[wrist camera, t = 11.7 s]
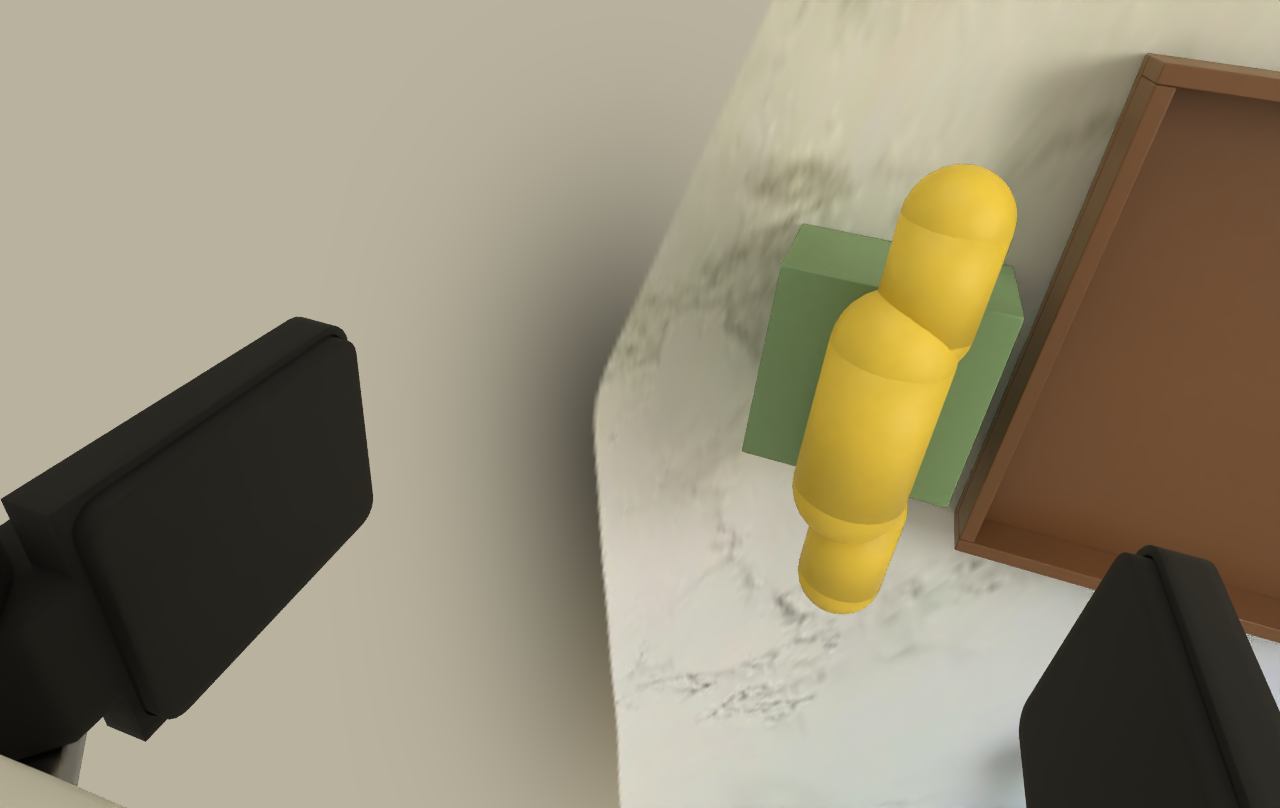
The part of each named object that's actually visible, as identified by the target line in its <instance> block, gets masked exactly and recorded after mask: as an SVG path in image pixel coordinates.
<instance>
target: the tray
mask: <svg viewBox="0 0 1280 808" xmlns="http://www.w3.org/2000/svg"><path fill="white" fill-rule="evenodd" d="M954 520H955V521H954V535H955V550H958V551H961V552H965V553H968V554H972V555H975V556H979V557H982V558H986V559H989V560H993V561H996V562H1000V563H1003V564H1007V565H1010V566H1014V567H1017V568H1021V569H1024V570H1028V571H1031V572H1035V573H1038V574H1042V575H1045V576H1048V577H1052V578H1055V579H1059V580H1062V581H1066V582H1069V583H1073V584H1076V585H1080V586H1083V587H1087V588H1090V589H1094V590H1096V589H1097V587H1098V586H1099V584H1100V582H1101V581H1102V579H1103V578H1104V576H1105V574H1106V573H1107V571H1108V570H1109V568H1110V566H1111V565H1112V563H1113V561H1114V560H1115V559H1116V558H1117V556H1118V555H1120V554H1121V553H1124V552H1128V553H1131V554H1136V553H1137V552H1138V550H1139V549H1141V548H1142V547H1144V546H1145V545H1154V546H1158V547H1161V548H1165V549H1169V550H1173V551H1176V552H1180V553H1184V554H1187V555H1191V556H1195V557H1199V558H1202V559H1206V560H1208V561H1210V562H1212V563H1213V564H1214V565H1215V567H1216V568H1217V570H1218V572H1219V574H1220V577H1221V579H1222V581H1223V583H1224V586H1225V588H1226V590H1227V593H1228V595H1229V597H1230V599H1231V602H1232V604H1233V606H1234V609H1235V611H1236V613H1237V615H1238V618H1239V620H1240V622H1241V625H1242V627H1243V629H1244V631H1245V633H1247V634H1251V635H1254V636H1257V637H1261V638H1264V639H1268V640H1271V641H1275V642H1278V643H1280V72H1278V71H1271V70H1264V69H1257V68H1250V67H1243V66H1236V65H1229V64H1222V63H1215V62H1208V61H1201V60H1194V59H1187V58H1180V57H1173V56H1166V55H1159V54H1152V53H1148V54H1146V55H1145V58H1144V60H1143V62H1142V65H1141V67H1140V70H1139V72H1138V74H1137V77H1136V79H1135V82H1134V84H1133V86H1132V89H1131V91H1130V94H1129V96H1128V98H1127V101H1126V103H1125V106H1124V108H1123V110H1122V113H1121V115H1120V118H1119V120H1118V122H1117V125H1116V127H1115V130H1114V132H1113V134H1112V137H1111V139H1110V141H1109V144H1108V146H1107V149H1106V151H1105V153H1104V156H1103V158H1102V161H1101V163H1100V165H1099V168H1098V170H1097V173H1096V175H1095V177H1094V180H1093V182H1092V185H1091V187H1090V189H1089V192H1088V194H1087V197H1086V199H1085V201H1084V204H1083V206H1082V209H1081V211H1080V213H1079V216H1078V218H1077V221H1076V223H1075V225H1074V228H1073V230H1072V232H1071V235H1070V237H1069V240H1068V242H1067V244H1066V247H1065V249H1064V252H1063V254H1062V256H1061V259H1060V261H1059V264H1058V266H1057V268H1056V271H1055V273H1054V276H1053V278H1052V280H1051V283H1050V285H1049V288H1048V290H1047V292H1046V295H1045V297H1044V300H1043V302H1042V304H1041V307H1040V309H1039V311H1038V314H1037V316H1036V319H1035V321H1034V323H1033V326H1032V328H1031V331H1030V333H1029V335H1028V338H1027V340H1026V343H1025V345H1024V347H1023V350H1022V352H1021V355H1020V357H1019V359H1018V362H1017V364H1016V367H1015V369H1014V371H1013V374H1012V376H1011V379H1010V381H1009V383H1008V386H1007V388H1006V390H1005V393H1004V395H1003V398H1002V400H1001V402H1000V405H999V407H998V410H997V412H996V414H995V417H994V419H993V422H992V424H991V426H990V429H989V431H988V434H987V436H986V438H985V441H984V443H983V446H982V448H981V450H980V453H979V455H978V458H977V460H976V462H975V465H974V467H973V469H972V472H971V474H970V477H969V479H968V481H967V484H966V486H965V489H964V491H963V493H962V496H961V498H960V501H959V503H958V505H957V508H956V510H955V513H954Z"/></svg>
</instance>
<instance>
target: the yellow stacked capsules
mask: <svg viewBox="0 0 1280 808" xmlns="http://www.w3.org/2000/svg"><path fill="white" fill-rule="evenodd" d="M1016 224H1017V208H1016V203H1015V199H1014V197H1013V195H1012V193H1011V190H1010V189H1009V187H1008V186H1007V185H1006V183H1005V182H1004V181H1003V180H1002V179H1001V178H1000V177H999V176H997V175H996V174H995V173H993V172H992V171H989V170H987V169H985V168H983V167H980V166H976V165H970V164H957V165H951V166H947V167H943V168H941V169H938V170H936V171H934V172H932V173H930V174H928V175H927V176H926V177H924V178H923V179H921V180H920V181H919V182H918V183H917V184H916V186H915V187H914V188H913V189H912V190H911V191H910V193H909V195H908V196H907V198H906V199H905V201H904V204H903V206H902V209H901V212H900V216H899V219H898V222H897V226H896V229H895V233H894V236H893V240H892V243H891V247H890V250H889V253H888V257H887V260H886V264H885V267H884V271H883V274H882V277H881V281H880V284H879V288H878V290H876V291H873V292H870V293H867V294H865V295H863V296H862V297H860V298H859V299H857V300H855V301H854V302H852V303H851V304H850V305H849V306H848V307H847V308H846V309H845V310H844V311H843V313H842V314H841V315H840V317H839V318H838V320H837V322H836V323H835V325H834V327H833V330H832V333H831V336H830V339H829V343H828V346H827V350H826V354H825V358H824V362H823V365H822V369H821V373H820V377H819V380H818V384H817V388H816V392H815V396H814V399H813V403H812V407H811V411H810V414H809V418H808V422H807V426H806V430H805V433H804V437H803V441H802V445H801V449H800V452H799V456H798V460H797V464H796V467H795V471H794V477H793V485H792V486H793V494H794V501H795V503H796V506H797V508H798V511H799V513H800V515H801V516H802V517H803V519H804V520H805V521H806V523H807V524H808V525H809V528H808V531H807V535H806V538H805V542H804V545H803V549H802V552H801V556H800V559H799V565H798V575H799V582H800V584H801V587H802V589H803V591H804V593H805V594H806V596H807V597H808V598H809V599H810V600H811V601H812V602H813V603H814V604H815V605H816V606H817V607H819V608H821V609H822V610H825V611H827V612H830V613H834V614H850V613H855V612H857V611H860V610H862V609H863V608H865V607H866V606H868V605H869V604H870V603H871V602H872V601H873V600H874V598H875V597H876V596H877V594H878V592H879V590H880V587H881V585H882V582H883V579H884V577H885V574H886V571H887V569H888V566H889V564H890V561H891V558H892V556H893V553H894V550H895V548H896V545H897V542H898V540H899V537H900V534H901V532H902V529H903V526H904V524H905V521H906V517H907V513H908V498H909V495H910V493H911V490H912V487H913V485H914V482H915V479H916V477H917V474H918V471H919V469H920V466H921V463H922V461H923V458H924V455H925V453H926V450H927V447H928V445H929V442H930V439H931V436H932V434H933V431H934V428H935V426H936V423H937V420H938V418H939V415H940V412H941V410H942V407H943V404H944V402H945V399H946V396H947V394H948V391H949V388H950V385H951V383H952V380H953V377H954V375H955V372H956V369H957V365H958V362H959V361H960V360H961V359H962V358H963V357H964V356H965V354H966V353H967V352H968V351H969V349H970V347H971V345H972V343H973V341H974V339H975V336H976V333H977V331H978V328H979V325H980V323H981V320H982V317H983V315H984V312H985V310H986V307H987V304H988V302H989V299H990V296H991V294H992V291H993V288H994V286H995V283H996V280H997V278H998V275H999V272H1000V270H1001V267H1002V265H1003V262H1004V259H1005V257H1006V254H1007V251H1008V249H1009V246H1010V243H1011V241H1012V238H1013V235H1014V231H1015V227H1016Z"/></svg>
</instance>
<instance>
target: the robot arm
mask: <svg viewBox="0 0 1280 808" xmlns="http://www.w3.org/2000/svg"><path fill="white" fill-rule="evenodd" d="M1 501H2V503H3V505H4V507H5V510H6V512H7V514H8V516H9V518H10V520H8V521H7V522H5V523H4V524H2V525H1V526H0V808H125V807H123V806H121V805H118V804H116V803H114V802H112V801H109V800H107V799H105V798H102V797H100V796H98V795H95V794H93V793H91V792H88V791H86V790H84V789H81V788H79V787H77V785H78V780H79V774H80V768H81V763H82V756H83V752H84V746H85V741H86V735H87V732H88V731H89V730H90V729H91V728H92V727H93V726H94V725H95V724H96V723H97V722H98V721H99V720H100V719H101V718H102V717H104V720H105V722H106V724H107V726H110V727H112V728H114V729H117V730H119V731H122V732H124V733H126V734H129V735H131V736H133V737H136V738H138V739H141V740H143V741H147V740H148V739H149V738H150V737H151V736H152V734H153V733H154V732H155V731H156V730H157V729H158V728H159V727H160V726H161V725H162V724H163V723H164V722H165V721H166V720H167V719H173V718H177V717H178V716H180V715H182V714H183V713H185V712H186V711H187V710H188V709H189V708H190V707H191V706H192V705H193V704H194V703H195V702H196V701H197V700H198V699H199V697H200V696H201V695H202V694H203V693H204V692H205V691H206V690H207V689H208V688H209V687H210V685H212V684H213V683H214V682H215V680H216V679H217V678H218V677H219V676H220V675H221V674H222V673H223V672H224V671H225V670H226V669H227V668H228V667H229V666H230V665H231V663H232V662H233V661H234V660H235V659H236V658H237V657H238V656H239V655H240V654H241V653H242V652H243V651H244V650H245V648H247V646H248V645H249V644H250V643H251V642H252V641H253V640H254V639H255V638H256V637H257V635H259V634H260V633H261V631H263V629H264V628H265V627H266V626H267V625H268V624H269V623H270V622H271V621H272V620H273V619H274V618H275V617H276V616H277V614H278V613H279V612H280V611H281V610H282V609H283V608H284V607H285V606H286V605H287V604H288V603H289V602H290V601H291V599H293V597H295V595H296V594H297V593H298V592H299V591H300V590H301V589H302V588H303V587H304V586H305V585H306V584H307V582H309V580H311V578H312V577H313V576H314V575H315V574H316V573H317V572H318V571H319V570H320V569H321V568H322V567H323V566H324V565H325V564H326V562H327V561H328V560H329V559H330V558H331V557H332V556H333V555H334V554H335V553H336V552H337V551H338V550H339V549H340V547H342V545H343V544H344V543H345V542H346V541H347V540H348V539H349V538H350V537H351V536H352V535H353V534H354V533H355V532H356V531H357V530H358V528H359V527H360V526H361V525H362V524H363V523H364V522H365V520H366V519H367V517H368V515H369V513H370V510H371V508H372V503H373V493H372V483H371V474H370V467H369V458H368V449H367V440H366V432H365V424H364V415H363V406H362V398H361V390H360V381H359V372H358V363H357V355H356V351H355V347H354V345H353V344H352V343H351V342H349V341H348V340H347V337H346V334H345V333H344V331H343V330H342V329H340V328H339V327H337V326H333V325H330V324H326V323H322V322H318V321H315V320H311V319H307V318H303V317H294V318H292V319H289V320H287V321H286V322H284V323H283V324H281V325H280V326H278V327H277V328H275V329H273V330H271V331H270V332H268V333H267V334H265V335H263V336H262V337H260V338H259V339H257V340H255V341H254V342H252V343H251V344H249V345H248V346H246V347H244V348H243V349H241V350H239V351H238V352H236V353H235V354H233V355H231V356H230V357H228V358H227V359H225V360H223V361H222V362H220V363H218V364H217V365H215V366H214V367H212V368H210V369H209V370H207V371H206V372H204V373H202V374H201V375H199V376H198V377H196V378H195V379H193V380H191V381H190V382H188V383H186V384H185V385H183V386H182V387H180V388H178V389H177V390H175V391H174V392H172V393H170V394H169V395H167V396H166V397H164V398H162V399H161V400H159V401H157V402H156V403H154V404H153V405H151V406H149V407H148V408H146V409H145V410H143V411H141V412H140V413H138V414H137V415H135V416H133V417H132V418H130V419H129V420H127V421H125V422H124V423H122V424H121V425H119V426H117V427H116V428H114V429H113V430H111V431H109V432H108V433H106V434H104V435H103V436H101V437H100V438H98V439H96V440H95V441H93V442H92V443H90V444H88V445H87V446H85V447H84V448H82V449H80V450H79V451H77V452H76V453H74V454H72V455H71V456H69V457H68V458H66V459H64V460H63V461H61V462H60V463H58V464H56V465H55V466H53V467H52V468H50V469H48V470H47V471H45V472H44V473H42V474H40V475H39V476H37V477H35V478H34V479H32V480H31V481H29V482H27V483H26V484H24V485H23V486H21V487H19V488H18V489H16V490H15V491H13V492H11V493H10V494H8V495H7V496H5V497H3V498H2V499H1ZM1019 740H1020V750H1021V759H1022V768H1023V778H1024V787H1025V797H1026V806H1027V808H1280V711H1279V709H1278V707H1277V704H1276V702H1275V700H1274V698H1273V695H1272V693H1271V691H1270V688H1269V686H1268V684H1267V682H1266V679H1265V677H1264V675H1263V672H1262V670H1261V668H1260V666H1259V663H1258V661H1257V659H1256V656H1255V654H1254V652H1253V650H1252V647H1251V645H1250V643H1249V640H1248V638H1247V636H1246V634H1245V631H1244V629H1243V627H1242V625H1241V622H1240V620H1239V618H1238V615H1237V613H1236V611H1235V609H1234V606H1233V604H1232V602H1231V599H1230V597H1229V595H1228V593H1227V590H1226V588H1225V586H1224V583H1223V581H1222V579H1221V577H1220V574H1219V572H1218V570H1217V568H1216V567H1215V565H1214V564H1213V563H1212V562H1210V561H1208V560H1206V559H1202V558H1199V557H1195V556H1191V555H1187V554H1184V553H1180V552H1176V551H1173V550H1169V549H1165V548H1161V547H1158V546H1154V545H1145V546H1144V547H1142V548H1141V549H1139V550H1138V552H1137V553H1136V554H1131V553H1128V552H1124V553H1121V554H1120V555H1118V556H1117V558H1116V559H1115V560H1114V561H1113V563H1112V565H1111V566H1110V568H1109V570H1108V571H1107V573H1106V574H1105V576H1104V578H1103V579H1102V581H1101V582H1100V584H1099V586H1098V587H1097V589H1096V590H1095V592H1094V594H1093V595H1092V597H1091V598H1090V600H1089V602H1088V603H1087V605H1086V606H1085V608H1084V610H1083V611H1082V613H1081V614H1080V616H1079V618H1078V619H1077V621H1076V622H1075V624H1074V626H1073V627H1072V629H1071V630H1070V632H1069V634H1068V635H1067V637H1066V638H1065V640H1064V642H1063V643H1062V645H1061V646H1060V648H1059V650H1058V651H1057V653H1056V655H1055V656H1054V658H1053V659H1052V661H1051V663H1050V664H1049V666H1048V667H1047V669H1046V671H1045V672H1044V674H1043V675H1042V677H1041V679H1040V680H1039V682H1038V683H1037V685H1036V687H1035V688H1034V690H1033V691H1032V693H1031V695H1030V696H1029V698H1028V699H1027V701H1026V703H1025V705H1024V707H1023V710H1022V713H1021V718H1020V724H1019Z"/></svg>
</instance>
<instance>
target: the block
mask: <svg viewBox="0 0 1280 808" xmlns="http://www.w3.org/2000/svg"><path fill="white" fill-rule="evenodd" d="M891 243H892V242H891V241H886V240H881V239H876V238H871V237H866V236H861V235H857V234H852V233H847V232H842V231H837V230H832V229H827V228H823V227H818V226H813V225H808V224H803V225H802V226H801V228H800V230H799V232H798V234H797V236H796V238H795V240H794V242H793V244H792V246H791V248H790V250H789V252H788V254H787V256H786V258H785V260H784V262H783V264H782V265H781V269H780V274H779V279H778V283H777V288H776V293H775V297H774V302H773V307H772V311H771V316H770V321H769V325H768V330H767V335H766V340H765V344H764V349H763V354H762V358H761V363H760V368H759V372H758V377H757V382H756V386H755V391H754V396H753V400H752V405H751V410H750V415H749V419H748V424H747V429H746V433H745V438H744V443H743V447H742V451H743V452H746V453H749V454H753V455H757V456H760V457H764V458H767V459H771V460H775V461H778V462H782V463H786V464H789V465H793V466H796V464H797V460H798V456H799V452H800V449H801V445H802V441H803V437H804V433H805V430H806V426H807V422H808V418H809V414H810V411H811V407H812V403H813V399H814V396H815V392H816V388H817V384H818V380H819V377H820V373H821V369H822V365H823V362H824V358H825V354H826V350H827V346H828V343H829V339H830V336H831V333H832V330H833V327H834V325H835V323H836V322H837V320H838V318H839V317H840V315H841V314H842V313H843V311H844V310H845V309H846V308H847V307H848V306H849V305H850V304H851V303H852V302H854V301H855V300H857V299H859V298H860V297H862V296H863V295H865V294H867V293H870V292H873V291H876V290H878V288H879V284H880V281H881V277H882V274H883V271H884V267H885V264H886V260H887V257H888V253H889V250H890V247H891ZM1023 321H1024V315H1023V310H1022V306H1021V301H1020V296H1019V292H1018V287H1017V282H1016V278H1015V273H1014V269H1013V267H1012V266H1007V265H1002V267H1001V270H1000V272H999V275H998V278H997V280H996V283H995V286H994V288H993V291H992V294H991V296H990V299H989V302H988V304H987V307H986V310H985V312H984V315H983V317H982V320H981V323H980V325H979V328H978V331H977V333H976V336H975V339H974V341H973V343H972V345H971V347H970V349H969V351H968V352H967V353H966V354H965V356H964V357H963V358H962V359H961V360H960V361H959V362H958V365H957V369H956V372H955V375H954V377H953V380H952V383H951V385H950V388H949V391H948V394H947V396H946V399H945V402H944V404H943V407H942V410H941V412H940V415H939V418H938V420H937V423H936V426H935V428H934V431H933V434H932V436H931V439H930V442H929V445H928V447H927V450H926V453H925V455H924V458H923V461H922V463H921V466H920V469H919V471H918V474H917V477H916V479H915V482H914V485H913V487H912V490H911V493H910V495H909V498H912V499H916V500H919V501H923V502H927V503H930V504H934V505H938V506H941V507H945V508H947V507H948V505H949V502H950V500H951V497H952V495H953V492H954V490H955V488H956V485H957V483H958V480H959V478H960V475H961V473H962V470H963V468H964V466H965V463H966V461H967V458H968V456H969V453H970V451H971V448H972V446H973V444H974V441H975V439H976V436H977V434H978V431H979V429H980V426H981V424H982V422H983V419H984V417H985V414H986V412H987V409H988V407H989V405H990V402H991V400H992V397H993V395H994V392H995V390H996V387H997V385H998V383H999V380H1000V378H1001V375H1002V373H1003V370H1004V368H1005V365H1006V363H1007V361H1008V358H1009V356H1010V353H1011V351H1012V348H1013V346H1014V343H1015V341H1016V339H1017V336H1018V334H1019V331H1020V329H1021V326H1022V324H1023Z"/></svg>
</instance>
